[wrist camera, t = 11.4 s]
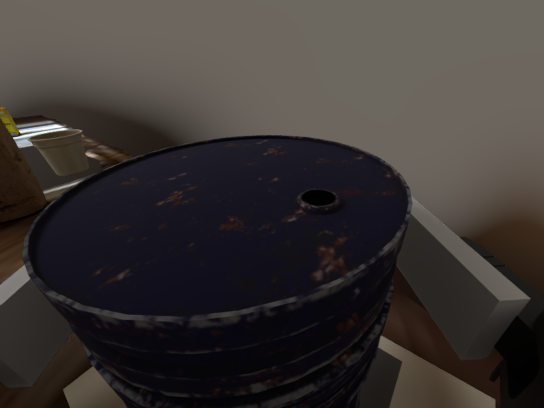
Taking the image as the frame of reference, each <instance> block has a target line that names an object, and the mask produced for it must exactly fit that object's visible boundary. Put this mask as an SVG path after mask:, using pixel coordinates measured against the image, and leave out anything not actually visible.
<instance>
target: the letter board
mask: <svg viewBox="0 0 544 408" xmlns="http://www.w3.org/2000/svg"><path fill="white" fill-rule="evenodd" d="M63 391H64V394H65V396H66V399H67V401H68V404H69V406H70V408H127V407H126V405H125V403H124V402H123V400H122V399H121V398H120V397H119V396H118V395H117V394H116V393H115V391H114V390H113V389H112V388H111V387H110V386H109V385H108V383H107V382H106V381H105V380H104V379H103V377H102V376H101V375H100V374H99V373H98V371H97V370H96V369H95V368H94V367H91V368H90V369H89V370H87V371H86V372H85V373H84V374H82V375H81V376H80V377H78V378H77V379H76V380H75V381H73V382H72V383H71V384H70V385H68V386H67V387H66V388H64V389H63ZM359 408H495V399H493V398H491V397H490V396H488V395H486V394H484V393H482V392H481V391H479V390H477V389H475V388H474V387H472V386H470V385H468V384H466V383H465V382H463V381H461V380H459V379H457V378H456V377H454V376H452V375H450V374H449V373H447V372H445V371H443V370H441V369H440V368H438V367H436V366H434V365H433V364H431V363H429V362H427V361H425V360H424V359H422V358H420V357H418V356H417V355H415V354H413V353H411V352H409V351H408V350H406V349H404V348H402V347H401V346H399V345H397V344H395V343H393V342H392V341H390V340H388V339H386V338H384V337H383V336H381V337H380V342H379V346H378V351H377V356H376V358H375V361H374V363H373V365H372V367H371V370H370V372H369V374H368V377H367V379H366V381H365V382H364V383H363V385H362V386H361V388H360V404H359Z"/></svg>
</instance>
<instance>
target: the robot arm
mask: <svg viewBox="0 0 544 408" xmlns="http://www.w3.org/2000/svg"><path fill="white" fill-rule="evenodd" d="M411 198H412V203H413V204H412V209H411V214H410V219H409V223H408V227H407V230H406V234H405V237H404V241H403V244H402V248H401V251H400V253H399V254H398V257H397V262H396V265H397V267H398V268H399V270H400V271H401V273H402V274H403V275H404V277H405V278H406V280H407V281H408V283H409V284H410V286H411V287H412V289H413V290H414V292H415V293H416V295H417V296H418V298H419V299H420V301H421V302H422V304H423V305H424V307H425V308H426V310H427V311H428V313H429V314H430V315H431V317H432V318H433V320H434V321H435V323H436V324H437V326H438V327H439V329H440V330H441V332H442V333H443V335H444V336H445V338H446V339H447V341H448V342H449V344H450V345H451V347H452V348H453V349H454V351H455V352H456V354H457V355H458V357H459V358H460V360H475V359H486V358H487V357H488V355H489V354H490V353H491V351H492V350H493V349H494V347H495V348H496V349H497V351H498V352H499V353H500V354H501V355H502V357H503V360H502V361H501V362H500V363H499V365H498V366H497V367H496V368H495V369H494V371H493V372H492V373H491V375H490V378H489V380H491V381H493V382H494V381H495V380H496V379H497V378H498V377H499V376H500V396H501V408H544V296H543V295H542V294H540V293H539V292H538V291H536V290H535V289H534V288H533V287H532V286H530V285H529V284H528V283H527V282H525V281H524V280H523V279H522V278H520V277H519V276H518V275H517V274H516V273H514V272H513V271H512V270H511V269H509V268H508V267H505V264H503V263H502V262H501V261H500V260H498V259H497V258H494V256H493V255H492V254H491V253H490V252H489V251H487V250H486V249H485V248H484V247H482V246H481V245H479V244H477V243H475V242H473V241H472V240H470V239H468V238H466V237H458V236H457V235H456V234H455V233H453V232H452V231H451V230H450V229H449V228H448V227H447V226H445V225H444V224H443V223H442V222H441V221H439V220H438V219H437V218H436V217H435V216H434V215H433V214H431V213H430V212H429V211H428V210H427V209H426V208H424V207H423V206H422V205H421V204H420V203H418V202H417V201H416V200H415V199H414V198H413V197H412V196H411ZM71 333H72V329H71V327H70V325H69V322H68V321H67V320H66V319H65V318H64V317H63V316H62V315H61V314H60V313H59V312H58V311H57V310H56V309H55V308H54V307H53V306H52V305H51V303H50V302H49V301H48V300H47V298H46V297H45V296H44V295H43V293H42V292H41V291H40V290H39V288H38V287H37V286H36V285H35V283H34V282H33V281H32V280H31V278H30V277H29V276H28V273H27V270H26V267H25V265H24V266H23V267H21V268H20V269H19V270H18V271H16V272H15V273H13V274H11V275H10V276H8V277H7V278H6V279H5V280H3V281H2V282H1V283H0V382H1V383H2V384H3V385H4V386H6V387H7V388H13V387H29V386H33V385H34V383H35V382H36V381H37V379H38V378H39V377H40V375H41V374H42V372H43V371H44V370H45V368H46V367H47V366H48V364H49V363H50V362H51V360H52V359H53V357H54V356H55V355H56V353H57V352H58V351H59V349H60V348H61V347H62V345H63V344H64V342H65V341H66V340H67V338H68V337H69V336H70V334H71Z"/></svg>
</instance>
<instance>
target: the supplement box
mask: <svg viewBox="0 0 544 408" xmlns="http://www.w3.org/2000/svg"><path fill="white" fill-rule="evenodd" d="M0 118H1V120H2V122H3V123H4V125H5V126H6V128H7V130H8V131H9V133H10V134H11V136H12V137H19V136H20V132H19V130H18V129H17V127H16V125H15V123H14V121H13V120H12V118H11V116H10V114H9V113H8V111H7V109H6V108H5V107H3V108H0Z"/></svg>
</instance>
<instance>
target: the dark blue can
mask: <svg viewBox="0 0 544 408" xmlns="http://www.w3.org/2000/svg"><path fill="white" fill-rule="evenodd" d="M412 204H413V203H412V198H411V193H410V189H409V187H408V185H407V184H406V182H405V180H404V178H403V177H402V176H401V175H400V174H399V173H398V172H397V171H396V170H395V169H394V168H393V167H392V166H391V165H389V164H388V163H386V162H385V161H383V160H382V159H380V158H378V157H377V156H374V155H373V154H370V153H368V152H366V151H364V150H361V149H358V148H355V147H352V146H349V145H345V144H341V143H338V142H333V141H327V140H323V139H315V138H309V137H298V136H282V135H257V136H238V137H227V138H219V139H211V140H204V141H198V142H193V143H187V144H183V145H178V146H174V147H169V148H165V149H161V150H158V151H154V152H151V153H147V154H144V155H141V156H138V157H135V158H132V159H129V160H127V161H124V162H121V163H119V164H116V165H114V166H111V167H109V168H107V169H105V170H102V171H100V172H98V173H96V174H94V175H92V176H90V177H88V178H87V179H85V180H83V181H81V182H79V183H78V184H76V185H75V186H73V187H71V188H70V189H68V190H67V191H65V192H64V193H62V194H61V195H60V196H59V197H57V198H56V199H55V200H54V201H53V202H51V203H50V204H49V205H48V206H47V207H46V208H45V209H44V210H43V211H42V212H41V213H40V215H39V216H38V217H37V218H36V219H35V220H34V221H33V223H32V225H31V227H30V229H29V231H28V233H27V235H26V236H25V239H24V246H23V253H22V258H23V261H24V264H25V267H26V270H27V273H28V276H29V277H30V278H31V280H32V281H33V282H34V283H35V285H36V286H37V287H38V288H39V290H40V291H41V292H42V293H43V295H44V296H45V297H46V298H47V300H48V301H49V302H50V303H51V305H52V306H53V307H54V308H55V309H56V310H57V311H58V312H59V313H60V314H61V315H62V316H63V317H64V318H65V319H66V320H67V321H68V322H69V325H70V327H71V329H72V331H73V332H74V333H75V334H76V336H77V337H78V338H79V339H80V341H81V342H82V344H83V346H84V349H85V351H86V353H87V355H88V357H89V360H90V362H91V364H92V365H93V367H94V368H95V369H96V370H97V371H98V373H99V374H100V375H101V376H102V377H103V379H104V380H105V381H106V382H107V383H108V385H109V386H110V387H111V388H112V389H113V390H114V391H115V393H116V394H117V395H118V396H119V397H120V398H121V399H122V400H123V402H124V403H125V405H126V407H127V408H359V404H360V388H361V386H362V385H363V383H364V382H365V381H366V379H367V377H368V374H369V372H370V370H371V367H372V365H373V363H374V361H375V358H376V356H377V351H378V346H379V342H380V337H381V335H382V332H383V328H384V326H385V322H386V319H387V315H388V312H389V309H390V304H391V299H392V294H393V289H394V279H393V276H394V271H395V267H396V262H397V257H398V254H399V253H400V251H401V248H402V244H403V241H404V237H405V234H406V230H407V227H408V223H409V219H410V214H411V209H412Z"/></svg>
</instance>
